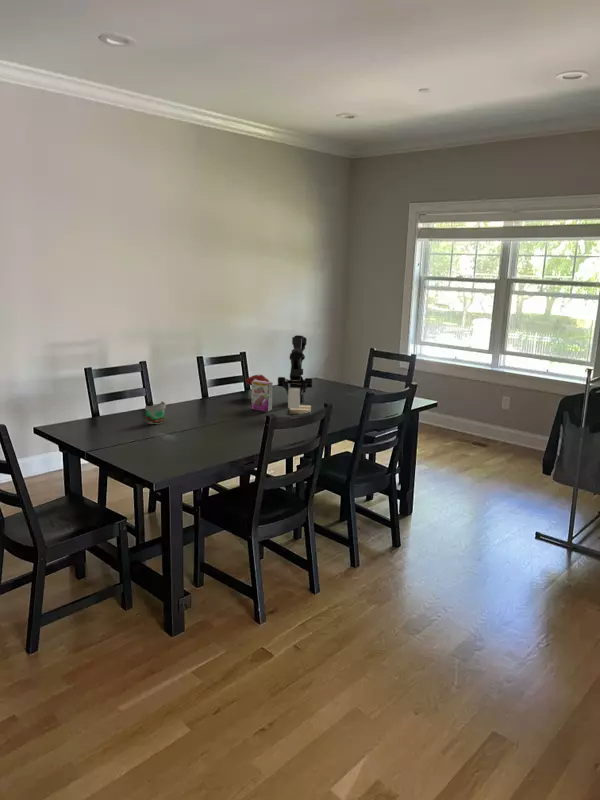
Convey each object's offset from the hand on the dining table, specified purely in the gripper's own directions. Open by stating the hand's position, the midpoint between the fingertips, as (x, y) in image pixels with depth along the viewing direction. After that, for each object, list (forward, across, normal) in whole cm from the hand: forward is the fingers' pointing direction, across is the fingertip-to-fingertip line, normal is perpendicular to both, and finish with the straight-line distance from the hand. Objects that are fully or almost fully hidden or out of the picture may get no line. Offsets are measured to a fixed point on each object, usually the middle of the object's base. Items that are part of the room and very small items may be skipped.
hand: (294, 395), depth 333 cm
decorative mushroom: (-17, -23, +34) cm, 45 cm away
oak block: (+1, +3, +17) cm, 17 cm away
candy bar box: (+1, -19, +17) cm, 25 cm away
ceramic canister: (+4, 0, +6) cm, 7 cm away
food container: (+25, -67, -8) cm, 72 cm away
